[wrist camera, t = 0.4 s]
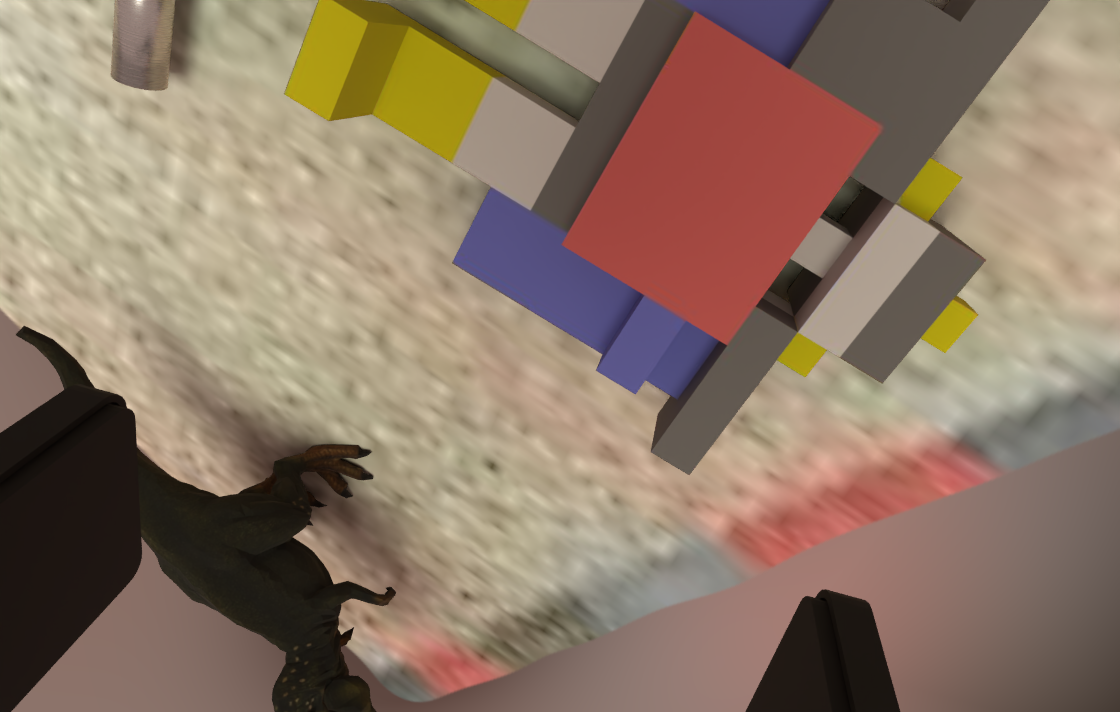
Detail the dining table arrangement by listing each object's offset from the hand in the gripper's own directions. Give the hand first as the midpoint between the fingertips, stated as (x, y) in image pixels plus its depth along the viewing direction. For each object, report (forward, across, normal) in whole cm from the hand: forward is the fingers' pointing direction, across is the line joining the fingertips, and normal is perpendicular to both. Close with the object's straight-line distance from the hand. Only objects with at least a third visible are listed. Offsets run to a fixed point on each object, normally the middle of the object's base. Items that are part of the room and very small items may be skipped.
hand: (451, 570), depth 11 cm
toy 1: (+31, +15, +24) cm, 42 cm away
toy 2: (+31, -2, -2) cm, 31 cm away
